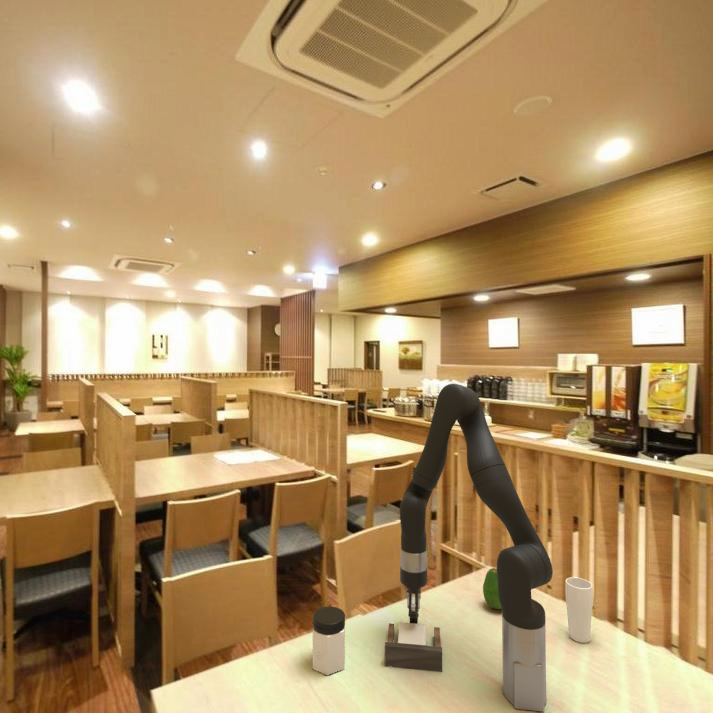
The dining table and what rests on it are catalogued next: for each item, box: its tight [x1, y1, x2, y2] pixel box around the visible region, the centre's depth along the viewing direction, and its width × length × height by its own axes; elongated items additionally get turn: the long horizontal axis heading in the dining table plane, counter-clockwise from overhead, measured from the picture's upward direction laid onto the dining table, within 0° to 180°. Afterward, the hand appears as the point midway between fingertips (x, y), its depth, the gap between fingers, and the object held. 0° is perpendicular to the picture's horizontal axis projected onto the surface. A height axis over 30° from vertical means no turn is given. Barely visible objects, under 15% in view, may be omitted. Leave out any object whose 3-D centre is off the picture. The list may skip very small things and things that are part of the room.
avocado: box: [482, 567, 502, 610], centre depth 134 cm, size 8×8×12 cm
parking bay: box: [384, 623, 443, 673], centre depth 114 cm, size 14×14×5 cm
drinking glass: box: [564, 576, 594, 644], centre depth 120 cm, size 7×7×15 cm
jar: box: [312, 606, 346, 676], centre depth 109 cm, size 9×8×12 cm
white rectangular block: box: [397, 621, 427, 646], centre depth 114 cm, size 9×7×5 cm
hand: (413, 628), depth 120 cm, fingers closed
